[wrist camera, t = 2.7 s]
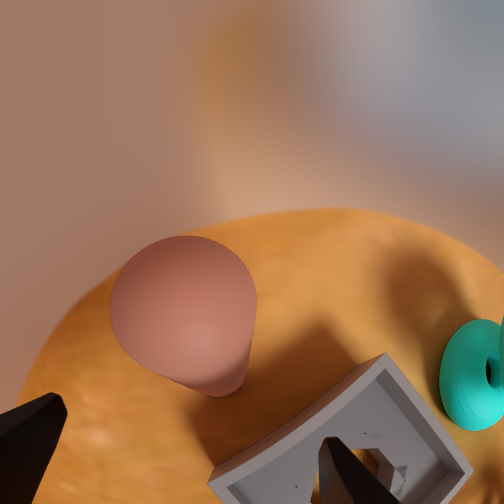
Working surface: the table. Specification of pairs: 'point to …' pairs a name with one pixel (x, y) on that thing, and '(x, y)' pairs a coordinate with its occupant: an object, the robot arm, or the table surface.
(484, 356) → the donuts
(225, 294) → the peg
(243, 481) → the socket box
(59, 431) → the robot arm
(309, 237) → the table surface
